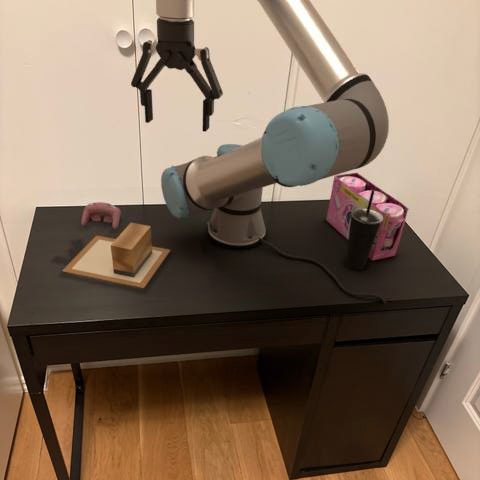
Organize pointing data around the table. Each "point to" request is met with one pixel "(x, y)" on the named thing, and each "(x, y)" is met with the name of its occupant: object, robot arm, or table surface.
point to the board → (101, 266)
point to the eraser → (131, 249)
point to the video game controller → (101, 208)
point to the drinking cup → (362, 235)
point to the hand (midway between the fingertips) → (177, 125)
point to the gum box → (356, 197)
